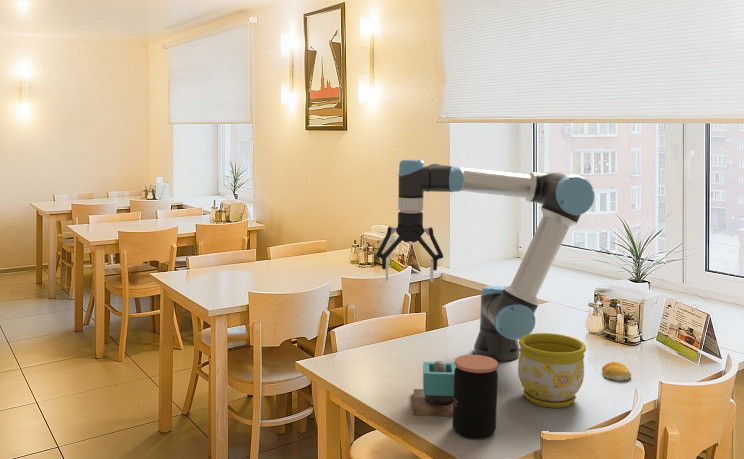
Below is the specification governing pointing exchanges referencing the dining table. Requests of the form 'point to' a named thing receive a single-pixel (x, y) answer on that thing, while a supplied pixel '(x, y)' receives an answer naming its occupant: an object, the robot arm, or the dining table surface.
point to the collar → (438, 380)
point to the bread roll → (616, 371)
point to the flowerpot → (551, 368)
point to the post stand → (433, 399)
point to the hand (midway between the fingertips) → (409, 280)
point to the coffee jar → (475, 396)
